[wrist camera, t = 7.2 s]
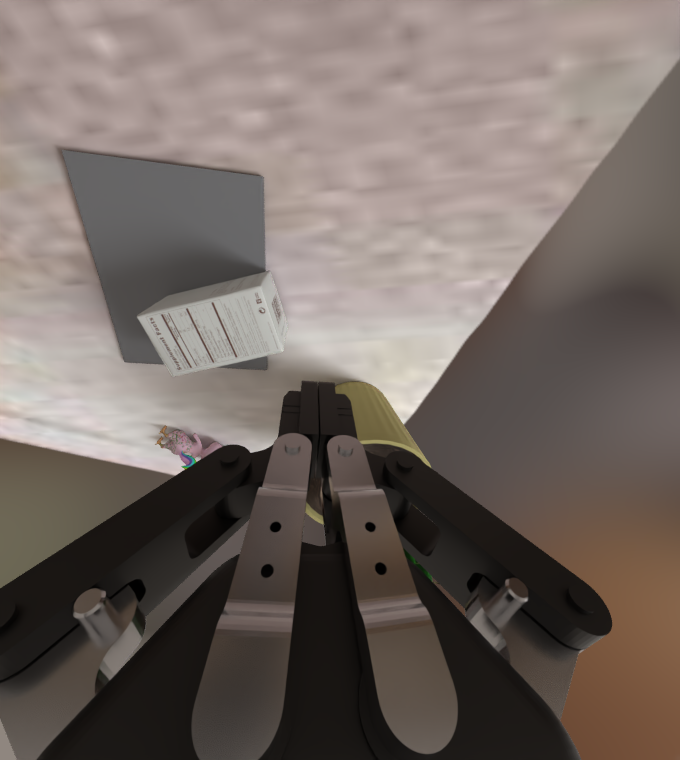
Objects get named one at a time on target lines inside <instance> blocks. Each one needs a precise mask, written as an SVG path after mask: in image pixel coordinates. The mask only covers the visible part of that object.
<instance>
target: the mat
mask: <svg viewBox="0 0 680 760" xmlns="http://www.w3.org/2000/svg"><path fill="white" fill-rule="evenodd" d="M62 153H63V157H64V160H65V163H66V167H67V170H68V174H69V177H70V180H71V184H72V187H73V190H74V194H75V197H76V200H77V204H78V207H79V211H80V214H81V217H82V221H83V224H84V227H85V231H86V234H87V237H88V241H89V244H90V248H91V251H92V254H93V258H94V261H95V264H96V268H97V271H98V274H99V278H100V281H101V285H102V288H103V291H104V295H105V298H106V301H107V305H108V308H109V311H110V315H111V318H112V322H113V325H114V328H115V332H116V335H117V338H118V342H119V345H120V349H121V352H122V355H123V359H124V362H129V363H147V364H164V362H163V361H162V359H161V357H160V356H159V354H158V352H157V351H156V349H155V347H154V345H153V344H152V342H151V340H150V338H149V337H148V335H147V333H146V332H145V330H144V328H143V326H142V325H141V323H140V321H139V320H138V318H137V315H138V314H140V313H141V312H143V311H145V310H146V309H148V308H149V307H151V306H152V305H154V304H155V303H157V302H159V301H160V300H162V299H163V298H165V297H166V296H168V295H172V294H176V293H180V292H184V291H188V290H192V289H197V288H201V287H205V286H209V285H213V284H217V283H221V282H225V281H229V280H234V279H238V278H242V277H246V276H250V275H254V274H258V273H262V272H265V224H264V177H263V176H255V175H247V174H240V173H232V172H225V171H217V170H210V169H202V168H195V167H187V166H180V165H172V164H165V163H157V162H150V161H142V160H135V159H127V158H119V157H112V156H104V155H97V154H89V153H82V152H74V151H67V150H62ZM219 368H237V369H255V370H267V356H264V357H259V358H255V359H251V360H246V361H242V362H238V363H233V364H229V365H224V366H220V367H219Z"/></svg>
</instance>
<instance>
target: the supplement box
mask: <svg viewBox="0 0 680 760" xmlns="http://www.w3.org/2000/svg"><path fill="white" fill-rule="evenodd" d="M137 318H138V320H139V321H140V323H141V325H142V326H143V328H144V330H145V332H146V333H147V335H148V337H149V338H150V340H151V342H152V344H153V345H154V347H155V349H156V351H157V352H158V354H159V356H160V357H161V359H162V361H163V362H164V364H165V366H166V367H167V369H168V371H169V372H170V374H171V376H172V377H175V376H180V375H184V374H189V373H193V372H197V371H202V370H206V369H211V368H216V367H220V366H224V365H229V364H233V363H238V362H242V361H246V360H251V359H255V358H259V357H264V356H268V355H272V354H277V353H281V352H283V350H284V342H285V336H286V332H287V329H288V323H287V320H286V317H285V314H284V311H283V308H282V305H281V302H280V299H279V296H278V293H277V290H276V287H275V284H274V281H273V278H272V275H271V272H270V271H266V272H262V273H258V274H254V275H250V276H246V277H242V278H238V279H234V280H229V281H225V282H221V283H217V284H213V285H209V286H205V287H201V288H197V289H192V290H188V291H184V292H180V293H176V294H172V295H168V296H166V297H165V298H163V299H162V300H160V301H159V302H157V303H155V304H154V305H152V306H151V307H149V308H148V309H146V310H145V311H143V312H141V313H140V314H138V315H137Z"/></svg>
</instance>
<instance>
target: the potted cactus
mask: <svg viewBox="0 0 680 760" xmlns="http://www.w3.org/2000/svg"><path fill="white" fill-rule="evenodd" d="M335 391H336V394H345V395H346V396H347V397H348V398H349V399H350V401H351V405H352V410H353V416H354V421H355V427H356V432H357V438H358V440H359V441H360V442H361V443H362V445H363V447H364V449H365V450H366V451H368V452H370V453H372V454H375V455H378V456H381V457H385V458H386V457H387V455H388V454H389V453H391V452H394V451H404V452H408V453H410V454H412V455H414V456H415V457H417V458H418V459H419V460H421V461H422V462H424V463H425V464H426V465H428V466H429V467H430V468H431V466H430V464H429V462H428V461H427V460H426V458H425V457H424V455H423V454H422V452H421V451H420V449H419V448H418V446H417V445H416V443H415V442H414V440H413V439H412V437H411V436H410V434H409V433H408V431H407V430H406V428H405V426H404V425H403V423H402V422H401V420H400V419H399V417H398V416H397V414H396V413H395V411H394V410H393V408H392V407H391V405H390V404H389V402H388V400H387V399H386V397H384V395H383V394H382V392H381V391H379V390H378V389H377V388H376V387H374V386H372V385H370V384H367V383H363V382H346V383H342V384H339V385H337V386H335ZM321 487H322V479H321V478H316V472H315V473H314V478H311V479H310V488H309V491H308V493H307V501H306V510H305V512H306V513H307V514H308V515H309V516H310V517H312V518H313V519H314V520H316V521H317V522H319V523H321V524H323V525H324V523H323V514H322V505H321ZM411 504H412V503H411ZM412 505H413V504H412ZM413 506H414V505H413ZM417 509H418V508H417ZM403 551H404V554H405V557H406V558H407V559H409V560H410V561H412V562H413V563H414V564H415V565H416V566H417V567H418V568H419V569H420V570H421V571H422V572H423V573H424V574H425V575H426V576H427V577H428V578H429V579H430V580H431V581H432V578H431V577H432V576H431V575H430V574H429V573H428V572H427V571H426V570H425V569H424V568H423V567H422V566H421V565H420V564H419V563H418V562H417V561H416V560H415V559H414V558H413V557H412V556H411V555H410V554H409V553H408V552H407V551H406V550H405V549H404V548H403ZM435 583H436V582H435ZM438 584H439V583H438Z"/></svg>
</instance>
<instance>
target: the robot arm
mask: <svg viewBox="0 0 680 760" xmlns="http://www.w3.org/2000/svg"><path fill="white" fill-rule="evenodd" d="M315 472H316V478H321V479H322V487H321V505H322V514H323V523H324V532H325V543H326V546H316V545H312V544H308V543H304V542H302V538H303V528H304V520H305V510H306V501H307V493H308V491H309V488H310V479H311V478H314V473H315ZM411 503H412V504H413V505H414V506H413V505H412V504H411ZM417 508H418V509H419V510H420V511H421V512H422V513H421V512H420V511H419V510H418V509H417ZM423 514H425V515H426V516H427V517H428V518H429V519H428V518H427V517H426V516H425V515H423ZM248 520H249V523H248V527H247V530H246V534H245V537H244V541H243V545H242V548H241V552H240V554H238V555H236V556H235V557H233V558H231V559H229V560H228V561H226V562H225V563H223V564H222V565H221V566H220V567H218V568H217V569H216V570H215V571H214V572H213V573H212V574H211V575H210V576H209V577H208V578H207V579H206V580H205V581H204V582H203V583H202V584H201V585H200V586H199V587H198V588H197V590H196V591H195V592H194V593H193V594H192V595H191V596H190V597H189V598H188V599H187V600H186V601H185V602H184V603H183V604H182V605H181V606H180V607H179V608H178V609H177V610H176V612H175V613H174V614H173V615H172V616H171V617H170V618H169V619H168V620H167V621H166V622H165V623H164V624H163V625H162V626H161V627H160V628H159V629H158V631H156V632H155V634H154V635H153V636H152V637H151V638H150V639H149V640H148V641H147V642H146V643H145V644H144V645H143V646H142V647H141V648H140V649H139V650H138V651H137V652H136V653H135V655H134V656H133V657H132V658H131V659H130V660H129V661H128V662H127V663H126V664H125V665H124V666H123V664H124V663H125V661H126V660H127V659H128V658H129V657H130V655H131V654H132V653H133V652H134V651H135V649H136V648H137V646H138V645H139V643H140V641H141V639H142V637H143V634H144V631H145V627H146V616H147V615H148V614H149V613H150V612H151V611H152V610H153V609H154V608H155V607H156V606H157V605H159V604H160V603H161V602H162V601H163V600H164V599H165V598H166V597H167V596H168V595H169V594H170V593H171V592H172V591H174V590H175V589H176V588H177V587H178V586H179V585H180V584H181V583H182V582H183V581H184V580H185V579H186V578H187V577H188V576H190V575H191V573H193V572H194V571H195V570H196V569H197V568H198V567H199V566H200V565H201V564H202V563H203V562H204V561H206V559H208V558H209V557H210V556H211V555H212V554H213V553H214V552H215V551H216V550H217V549H218V548H219V547H220V546H221V545H223V544H224V543H225V542H226V541H227V540H228V539H229V538H230V537H231V536H232V535H233V534H234V533H235V532H236V531H238V530H239V529H240V528H241V527H242V526H243V525H244V524H245V523H246V522H247V521H248ZM432 521H433V522H434V523H435V524H436V525H435V524H434V523H433V522H432ZM403 548H404V549H405V550H406V551H407V552H408V553H409V554H410V555H411V556H412V557H413V558H414V559H415V560H416V561H417V562H418V563H419V564H420V565H421V566H422V567H423V568H424V569H425V570H426V571H427V572H428V573H429V574H430V575H431V576H432V577H433V578H434V579H435V580H436V581H437V582H438V583H439V584H440V585H441V586H442V587H443V588H444V589H445V590H446V591H448V592H449V594H450V595H451V596H452V597H454V599H456V600H457V601H458V602H459V603H460V604H461V605H462V606H463V607H464V608H465V614H466V617H465V616H464V615H463V614H462V613H461V612H460V611H459V610H458V609H457V608H456V607H455V605H454V604H453V603H452V602H451V601H450V600H449V599H448V598H447V597H446V596H445V595H444V594H443V593H442V592H441V591H440V590H439V589H438V588H437V586H436V585H435V584H434V583H433V582H432V581H431V580H430V579H429V578H428V577H427V576H426V575H425V574H424V573H423V572H422V571H421V570H420V569H419V568H418V567H417V566H416V565H415V564H414V563H413V562H412V561H410V560H409V559H407V558H406V557H405V554H404V551H403ZM611 628H612V619H611V615H610V613H609V610H608V608H607V606H606V605H605V603H604V602H603V600H602V599H601V598H600V596H599V595H598V594H597V593H596V592H595V591H594V590H593V589H592V588H591V587H590V586H589V585H588V584H586V583H585V582H584V581H583V580H581V579H580V578H579V577H577V576H576V575H575V574H573V573H572V572H570V571H569V570H568V569H566V568H565V567H564V566H562V565H561V564H560V563H558V562H557V561H556V560H554V559H553V558H552V557H550V556H549V555H548V554H546V553H545V552H544V551H542V550H541V549H539V548H538V547H536V546H535V545H534V544H533V543H531V542H530V541H529V540H527V539H526V538H524V537H523V536H522V535H521V534H519V533H518V532H517V531H515V530H514V529H512V528H511V527H510V526H508V525H507V524H506V523H504V522H503V521H502V520H500V519H499V518H498V517H496V516H495V515H494V514H492V513H491V512H490V511H488V510H487V509H485V508H484V507H483V506H482V505H480V504H479V503H477V502H476V501H475V500H473V499H472V498H471V497H469V496H468V495H467V494H465V493H464V492H462V491H461V490H460V489H459V488H457V487H456V486H455V485H453V484H452V483H450V482H449V481H448V480H446V479H445V478H444V477H442V476H441V475H439V474H438V473H437V472H436V471H434V470H433V469H432V468H430V467H429V466H428V465H426V464H425V463H424V462H422V461H421V460H419V459H418V458H417V457H415V456H414V455H412V454H410V453H408V452H404V451H394V452H391V453H389V454H388V455H387V457H386V458H385V457H381V456H378V455H375V454H372V453H370V452H368V451H366V450H365V449H364V447H363V445H362V443H361V442H360V441H359V440H358V438H357V432H356V427H355V421H354V416H353V410H352V405H351V401H350V399H349V398H348V397H347V396H346V395H345V394H336V391H335V383H331V382H319V383H318V382H314V381H302V385H301V392H300V391H289V392H288V393H287V394H286V395H285V396H284V399H283V407H282V413H281V420H280V427H279V434H278V438H277V439H276V441H275V442H274V444H273V445H272V446H271V447H269V448H267V449H265V450H262V451H258V452H254V453H250V452H249V450H248V449H246V448H245V447H243V446H240V445H226V446H223V447H220V448H218V449H216V450H215V451H213V452H212V453H210V454H209V455H207V456H206V457H204V458H202V459H201V460H199V461H198V462H196V463H195V464H193V465H192V466H190V467H188V468H187V469H185V470H184V471H182V472H181V473H179V474H178V475H176V476H174V477H173V478H171V479H170V480H168V481H167V482H165V483H164V484H162V485H160V486H159V487H158V488H156V489H154V490H153V491H151V492H150V493H148V494H147V495H145V496H144V497H142V498H140V499H139V500H137V501H136V502H134V503H132V504H131V505H129V506H128V507H126V508H125V509H123V510H122V511H120V512H118V513H117V514H115V515H114V516H112V517H111V518H109V519H108V520H106V521H105V522H103V523H101V524H100V525H98V526H97V527H95V528H94V529H92V530H90V531H89V532H87V533H86V534H84V535H83V536H81V537H80V538H78V539H76V540H75V541H73V542H72V543H70V544H69V545H67V546H66V547H64V548H63V549H61V550H59V551H58V552H56V553H55V554H53V555H52V556H50V557H48V558H47V559H45V560H44V561H42V562H41V563H39V564H38V565H36V566H35V567H33V568H31V569H30V570H28V571H27V572H25V573H24V574H22V575H21V576H19V577H17V578H16V579H14V580H13V581H11V582H10V583H8V584H7V585H5V586H3V587H2V588H0V719H1V722H2V724H3V727H4V729H5V732H6V734H7V737H8V739H9V741H10V744H11V746H12V749H13V751H14V754H15V756H16V758H17V760H581V758H580V756H579V753H578V751H577V749H576V747H575V745H574V743H573V742H572V740H571V738H570V736H569V734H568V733H567V731H566V729H565V728H564V726H563V725H562V723H561V721H560V719H561V716H562V712H563V708H564V705H565V701H566V697H567V694H568V689H569V686H570V683H571V678H572V675H573V671H574V668H575V664H576V661H577V657H578V654H579V653H580V652H582V651H583V650H585V649H586V648H588V647H589V646H591V645H592V644H593V643H595V642H597V641H598V640H599V639H601V638H602V637H604V636H605V635H607V634H608V633H609V632H610V631H611ZM122 666H123V667H122ZM121 667H122V668H121ZM120 668H121V669H120Z"/></svg>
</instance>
